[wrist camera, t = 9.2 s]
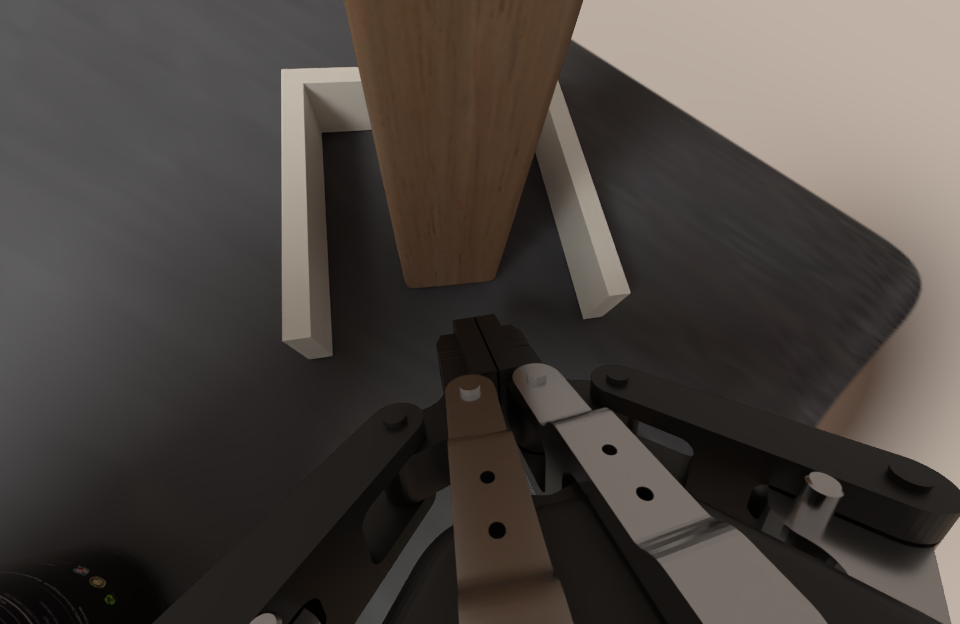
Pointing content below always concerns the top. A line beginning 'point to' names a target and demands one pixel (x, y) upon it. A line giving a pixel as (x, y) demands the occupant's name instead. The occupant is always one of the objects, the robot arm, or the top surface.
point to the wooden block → (457, 120)
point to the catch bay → (342, 107)
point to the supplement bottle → (78, 590)
